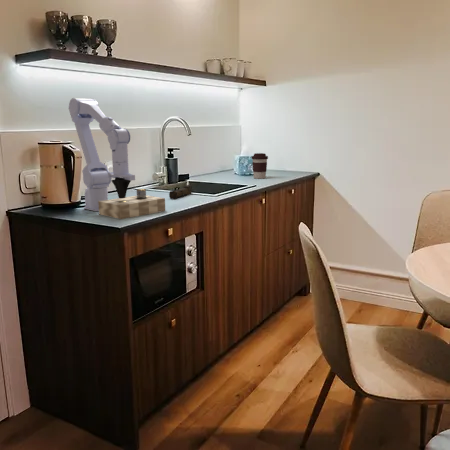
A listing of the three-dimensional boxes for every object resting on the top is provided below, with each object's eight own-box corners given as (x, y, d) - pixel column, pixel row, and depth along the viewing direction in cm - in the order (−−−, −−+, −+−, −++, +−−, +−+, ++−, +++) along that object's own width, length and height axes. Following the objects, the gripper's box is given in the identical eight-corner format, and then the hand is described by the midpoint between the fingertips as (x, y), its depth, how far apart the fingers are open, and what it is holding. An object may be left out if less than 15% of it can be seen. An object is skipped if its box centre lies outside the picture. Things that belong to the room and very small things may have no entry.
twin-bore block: (99, 214, 179) (98, 201, 178) (143, 206, 194) (142, 194, 193) (120, 219, 169) (120, 205, 168) (165, 210, 185) (164, 198, 184)
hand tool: (176, 199, 212) (176, 189, 211) (168, 199, 214) (168, 189, 213) (196, 194, 229) (196, 184, 228) (189, 193, 230) (188, 184, 229)
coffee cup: (248, 177, 290) (248, 153, 287) (262, 177, 294) (262, 152, 291) (256, 179, 281) (256, 154, 278) (270, 178, 285) (271, 153, 282)
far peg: (135, 200, 184) (134, 189, 183) (142, 199, 186) (141, 188, 186) (140, 201, 182) (140, 190, 181) (148, 200, 184) (147, 189, 183)
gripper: (99, 161, 176) (102, 197, 179) (123, 163, 166) (124, 201, 169) (115, 160, 181) (117, 195, 184) (139, 162, 172) (140, 199, 175)
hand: (122, 198), depth 177 cm, fingers closed
